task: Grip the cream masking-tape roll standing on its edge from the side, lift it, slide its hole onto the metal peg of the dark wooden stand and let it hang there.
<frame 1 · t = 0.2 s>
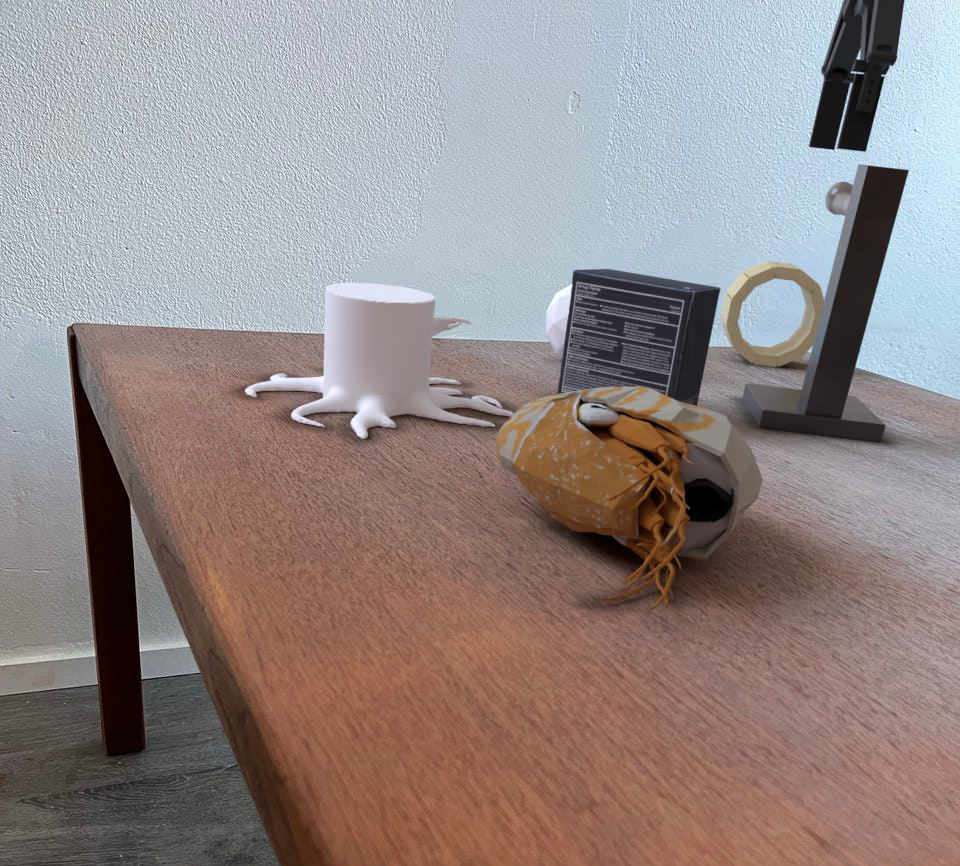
hand: (835, 149, 104), 21 cm above the table, tool pointing down, fingers open, 13 cm apart
tape roll: (761, 361, 108), on the table
tape stand: (803, 414, 87), on the table
tree stump: (375, 401, 77), on the table
geometric ball: (579, 363, 98), on the table
nautilus: (611, 549, 54), on the table
small box: (625, 410, 83), on the table
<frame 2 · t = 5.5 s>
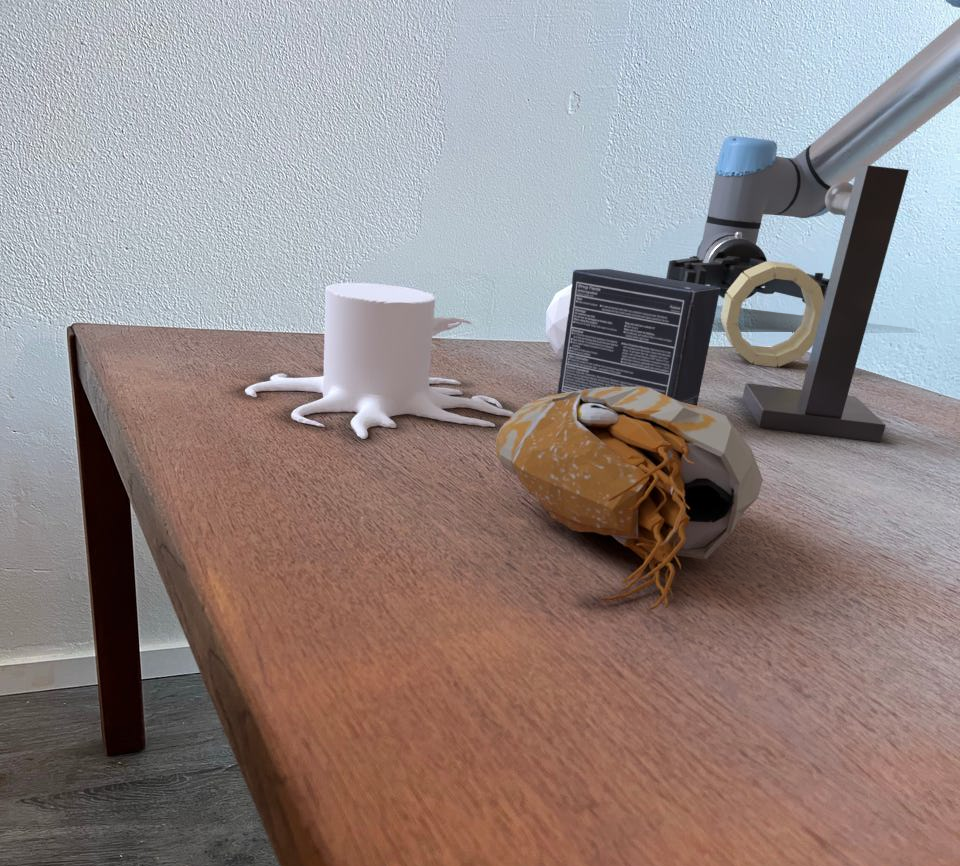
hand: (760, 290, 113), 6 cm above the table, tool horizontal, fingers open, 13 cm apart
nothing on the table moved.
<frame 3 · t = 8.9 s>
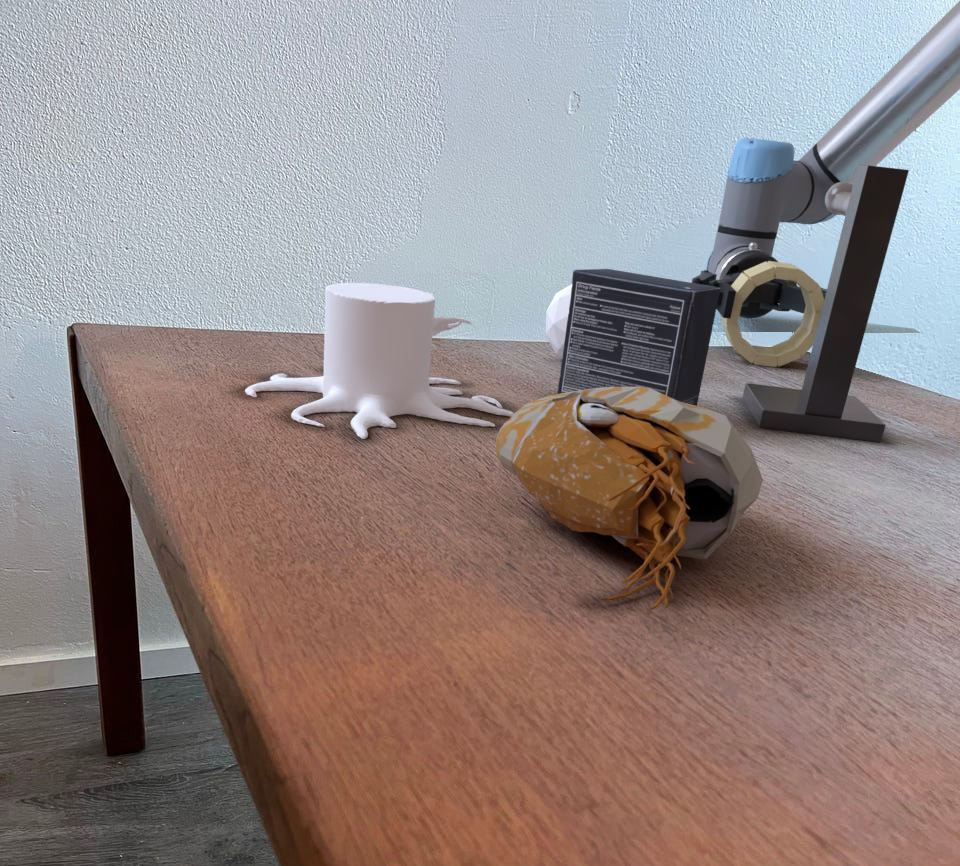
hand: (781, 310, 101), 6 cm above the table, tool horizontal, fingers closed on tape roll, 10 cm apart
tape roll: (761, 361, 108), on the table, touching gripper
everything else where it was.
when the fingers open (15 cm above the table, at t = 18.5 s): tape roll stays where it is, resting on tape stand.
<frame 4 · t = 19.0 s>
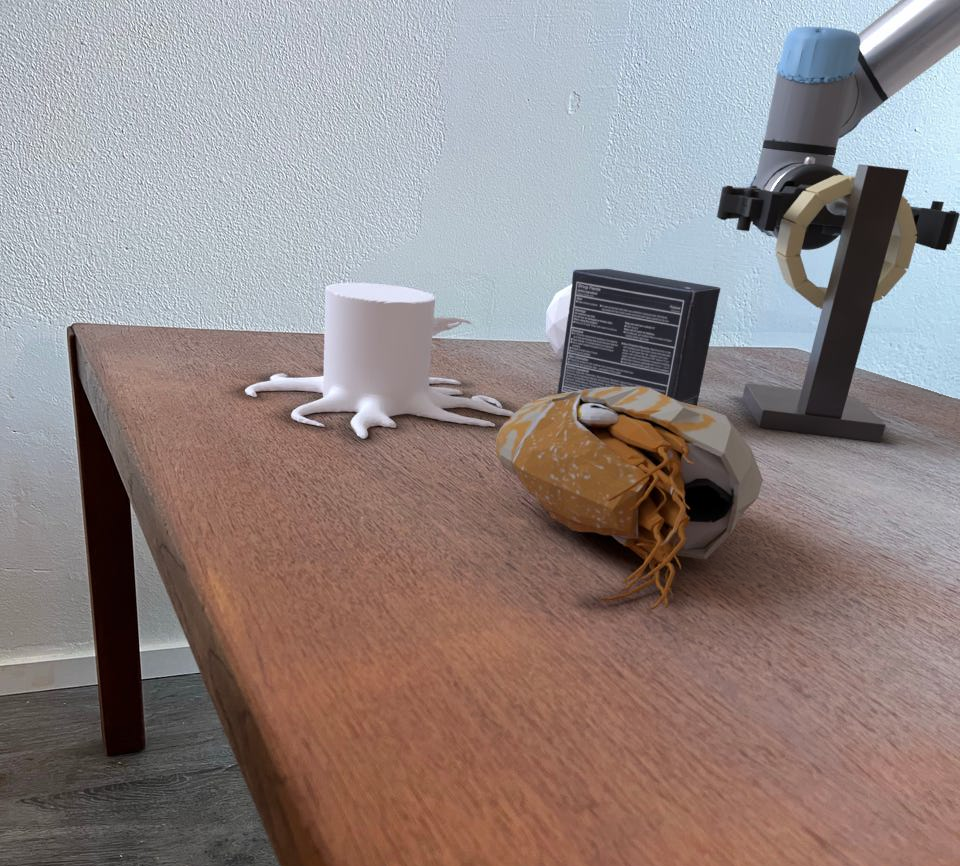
hand: (859, 222, 78), 16 cm above the table, tool horizontal, fingers open, 13 cm apart
tape roll: (828, 306, 84), point 9 cm above the table, touching tape stand
everything else where it was.
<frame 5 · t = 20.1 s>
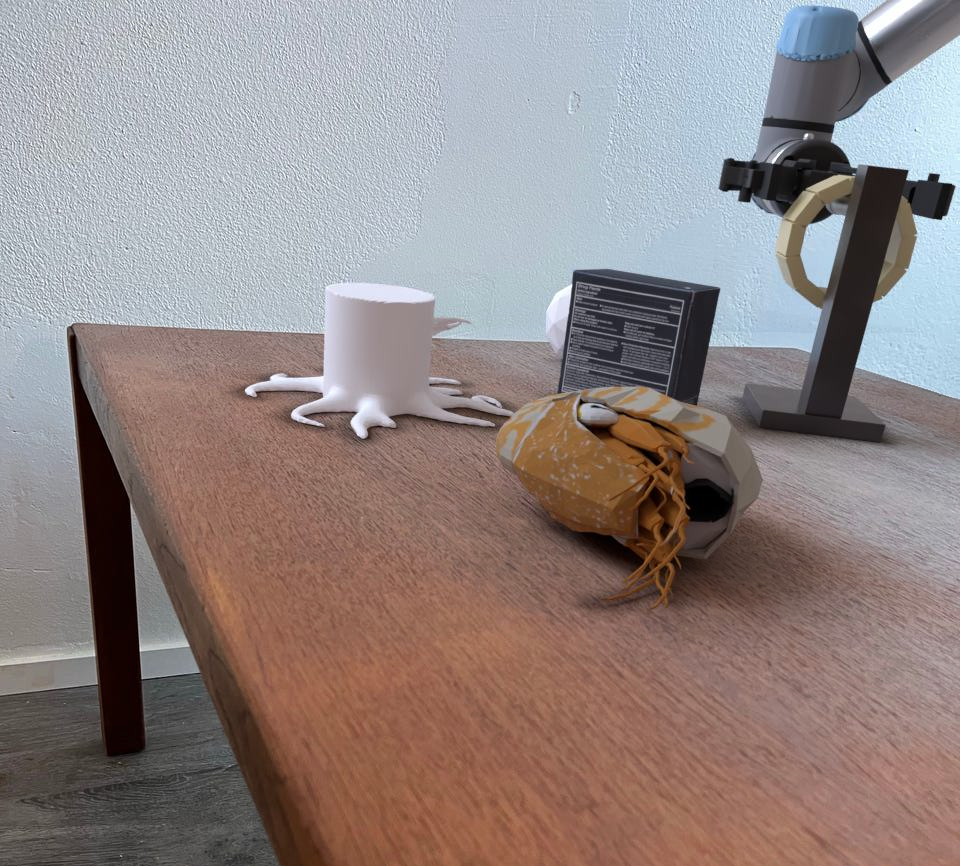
hand: (858, 192, 80), 18 cm above the table, tool horizontal, fingers open, 13 cm apart
nothing on the table moved.
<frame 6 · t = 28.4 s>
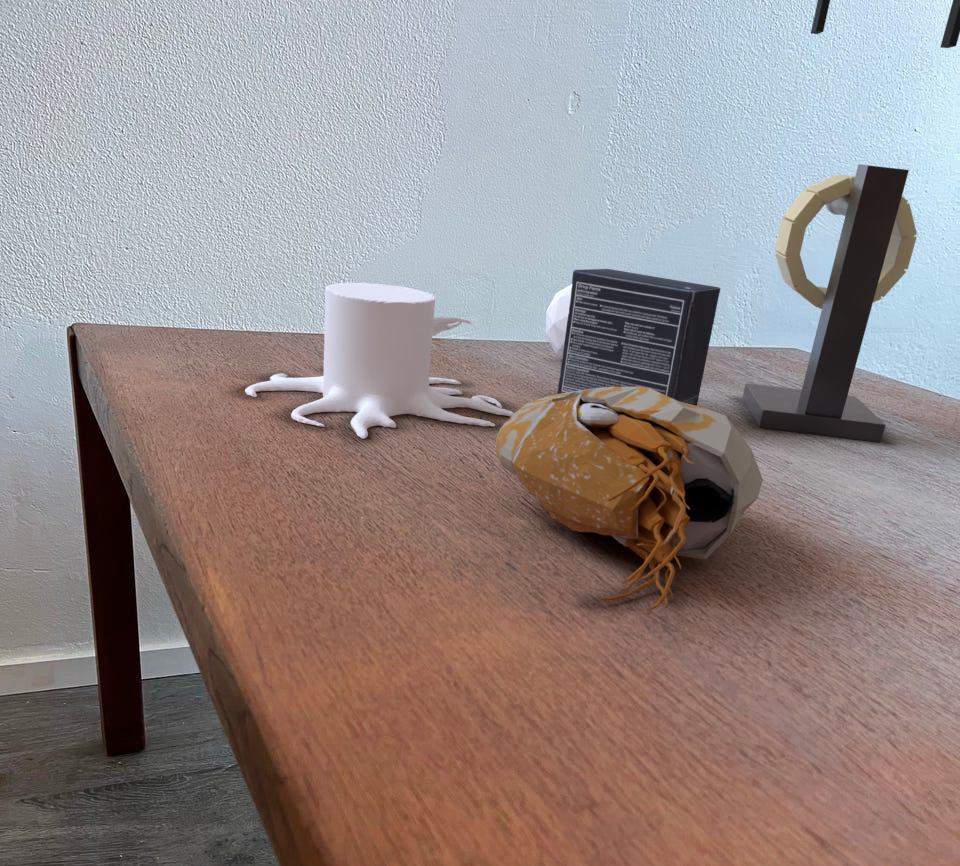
hand: (882, 40, 103), 32 cm above the table, tool pointing down, fingers open, 13 cm apart
nothing on the table moved.
at the end: tape roll inside the target area on the tape stand (1.3 cm from its centre), point 9.1 cm above the tape stand's base; tape roll touching tape stand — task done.
